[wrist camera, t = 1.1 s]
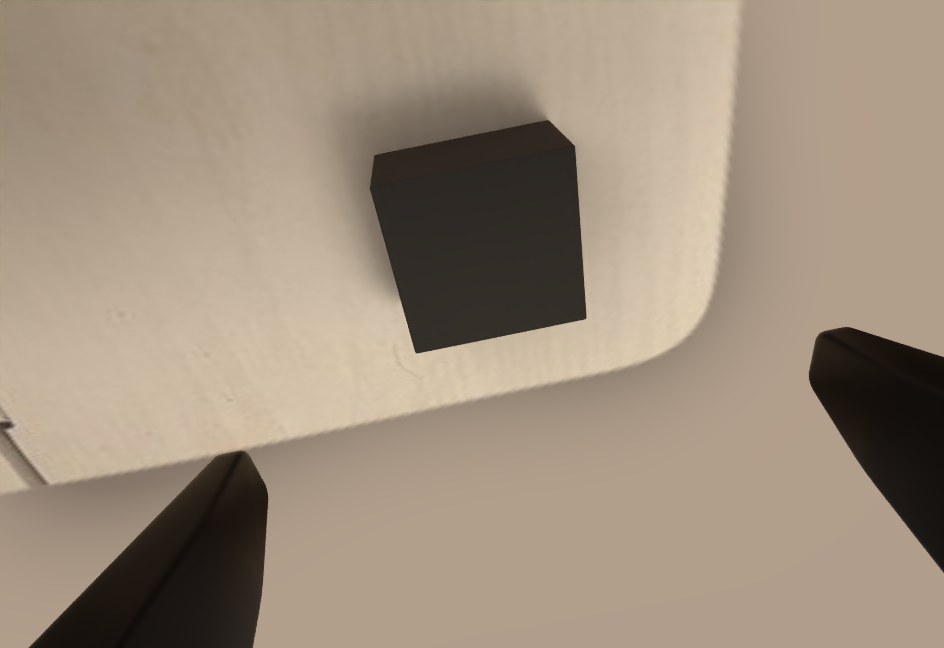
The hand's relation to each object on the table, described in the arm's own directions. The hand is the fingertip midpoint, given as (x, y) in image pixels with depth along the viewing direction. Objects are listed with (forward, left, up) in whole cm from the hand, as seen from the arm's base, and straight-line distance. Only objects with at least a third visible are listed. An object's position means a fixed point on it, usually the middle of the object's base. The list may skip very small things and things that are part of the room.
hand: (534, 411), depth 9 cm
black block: (0, 0, -8) cm, 8 cm away
